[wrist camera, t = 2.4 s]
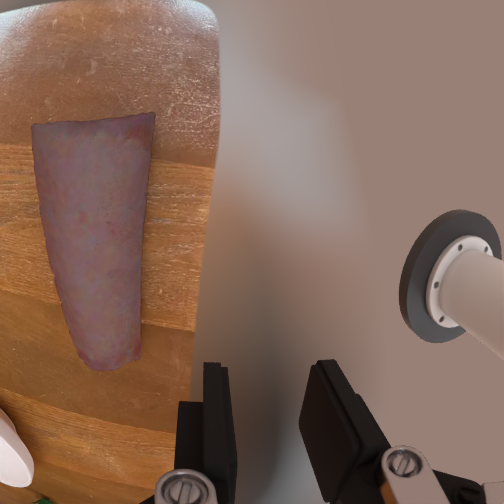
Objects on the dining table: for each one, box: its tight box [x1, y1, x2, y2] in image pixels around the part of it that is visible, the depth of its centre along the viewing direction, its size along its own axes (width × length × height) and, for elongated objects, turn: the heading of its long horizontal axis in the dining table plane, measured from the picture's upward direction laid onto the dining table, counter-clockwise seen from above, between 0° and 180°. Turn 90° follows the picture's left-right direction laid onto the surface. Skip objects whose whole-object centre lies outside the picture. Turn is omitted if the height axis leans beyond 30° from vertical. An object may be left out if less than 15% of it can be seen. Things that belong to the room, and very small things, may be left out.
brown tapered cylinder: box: [31, 112, 156, 371], centre depth 22 cm, size 21×9×9 cm, turn 0°
